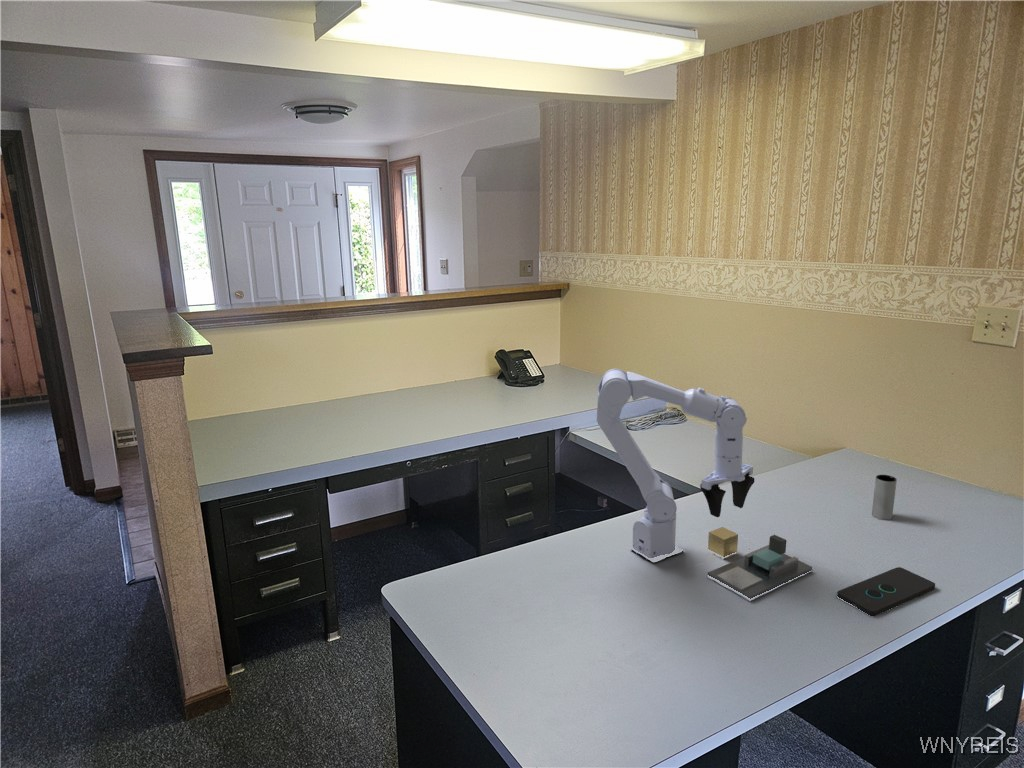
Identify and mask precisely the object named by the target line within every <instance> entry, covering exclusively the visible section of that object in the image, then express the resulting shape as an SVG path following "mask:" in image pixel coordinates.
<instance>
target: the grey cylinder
mask: <svg viewBox="0 0 1024 768" xmlns="http://www.w3.org/2000/svg"><path fill="white" fill-rule="evenodd" d="M896 489H897V478H896V477H894V476H892V475H888V474H877V475H876V476H875V481H874V491H873V498H872V508H871V509H872V510H871V516H872V517H874V518H876V519H879V520H886V521H887V520H891V519H893V515H894V505H895V496H896Z"/></svg>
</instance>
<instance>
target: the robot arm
mask: <svg viewBox="0 0 1024 768" xmlns="http://www.w3.org/2000/svg"><path fill="white" fill-rule="evenodd" d="M597 389H598V391H597V404H596V405H597V408H596V422H597V424H598V426H599V427H600V429H601V431H602V432H603V434H604V435H605V436H606V438H607V440H608V441H609V442H610V444H611V446H612V448H613V449H614V450H615V452H616V454H617V455H618V457H619V458H620V460H621V461H622V463H623V464H624V466H625V467H626V469H627V471H628V472H629V474H630V475H631V477H632V478H633V480H634V481H635V483H636V485H637V486H638V488H639V490H640V492H641V495H642V498H643V499H644V501H645V503H646V507H645V508H644V509H643V515H642V516H641V518H640V519H638V520H636V521H635V522H634V523H633V525H632V547H633V548H634V549H635V550H637V551H638V552H640V553H642V554H644V555H645V556H647V557H648V558H654V557H657V556H660V555H665V554H670V553H672V552H673V551H674V550H675V546H676V534H677V531H676V530H677V504H676V502H675V498H674V495H673V493H674V492H673V488H672V486H671V485H670V484H669V483H668V482H667V481H665V480H663V479H662V478H661V477H660V475H659V474H658V472H656V471H655V470H654V468H653V467H652V465H651V464H650V462H649V460H647V458H646V456H645V455H644V453H643V452H642V450H641V448H640V446H639V445H638V444H637V442H636V441H635V439H634V437H633V436H632V434H631V433H630V431H629V430H628V428H627V426H626V425H625V423H624V422H623V420H622V418H620V417H621V413H622V411H623V408H624V406H625V405H626V404H627V403H628V402H629V399H630V398H631V396H632V402H633V401H636V400H639V399H641V398H644V397H648V398H651V399H654V400H659V401H663V402H665V403H669V404H673V405H676V406H679V407H680V408H681V410H682V412H683V414H685V415H689V416H692V417H694V418H698V419H701V420H704V421H706V422H710V423H716V427H715V429H716V430H715V438H714V439H715V440H714V470H713V471H711V473H709V474H708V475H707V476H706V477H704V478H701V483H700V485H699V487H700V490H701V492H702V493H703V495H704V497H705V499H706V502H707V505H708V508H709V514H710V515H711V516H713V517H716V518H719V517H720V516H721V513H722V504H723V500H724V496H725V494H726V493H727V491H726V490H725V489H722V488H721V487H720V486H719V485H721V484H724V483H729V482H730V484H731V488H732V491H731V492H732V503H733V506H734V507H737V508H739V509H742V508H743V507H744V505H745V501H746V498H747V495H748V493H749V491H750V490H751V488H752V486H753V485H754V484H755V477H753V476H752V475H753V474H754V466H753V465H750V464H747V463H745V464H743V446H744V445H743V444H744V441H743V440H744V435H743V430H744V426H745V425H746V424H747V420H748V418H747V417H746V412H745V410H744V409H743V408H742V406H741V405H740V403H738V401H737V400H735V399H733V398H732V397H730V396H729V397H728V396H725V395H720V396H717V395H715V394H711V393H708V392H706V390H705V389H704V388H702V387H698V388H689V389H687V390H685V391H684V390H681V389H678V388H675V387H673V386H670V385H668V384H666V383H662V382H660V381H658V380H655V379H652V378H649V377H647V376H644V375H641V374H638V373H636V372H632V371H626V372H625V371H624V370H623V369H621V368H620V369H619V368H611V369H609V370H607V371H605V372H604V374H603V375H602V377H601V379H600V382H599V385H598V388H597Z"/></svg>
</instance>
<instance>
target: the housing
mask: <svg viewBox="0 0 1024 768" xmlns="http://www.w3.org/2000/svg"><path fill="white" fill-rule="evenodd" d="M707 541H708V542H707V543H708V545H707V550H708V549H709V550H711V551H713V552H715V553H717V554H719V555H721V556H723V557H725V556H727V555H730V554H732V553H735V552H737V553H738V543H739V534H738V533H736V532H734V531H732V530H729V529H728V528H726V527H723V526H721V527H718V528H716V529H713V530H711V531H708V538H707Z"/></svg>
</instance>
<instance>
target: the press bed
mask: <svg viewBox="0 0 1024 768" xmlns="http://www.w3.org/2000/svg"><path fill="white" fill-rule="evenodd" d="M766 548H767V549H769V544H767V545H765V546H762V547H760V548H758V549H756V550H754V551H750V552H749V553H747V554H744V556H743V557H741V558H738V559H736V560H734V561H731V562H729V563H726V564H725V565H723V566H720V567H717V568H716V569H712V570H711V571H709V572H707V575H709V576H711V577H713V578H715V579H717V580H719V581H720V582H722V583H724V584H726V585H728V586H729V587H731V588H733V589H734V590H736V591H738V592H740V593H742V594H743V595H745V596H747V597H748V598H750V599H751V598H753V597H755V596H757V595H760V594H762V593H764V592H766V591H769V590H771V589H773V588H775V587H777V586H779V585H781V584H783V583H786V582H788V581H789V580H792V579H794V578H796V577H798V576H800V575H802V574H805V573H807V572H809V571H811V570H812V571H813V566H812V565H809V564H807V563H805V562H803V561H801V560H799V557H796V556H790V555H788V554H785V553H784V554H781V555H782V556H783V560H782V562H781V563H779V564H777V565H774V566H772V567H770V570H767V569H765V568H763V567H761V566H759V565H757V564H755V563H753V554H755V553H757V552H759V551H762V550H764V549H766Z"/></svg>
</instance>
